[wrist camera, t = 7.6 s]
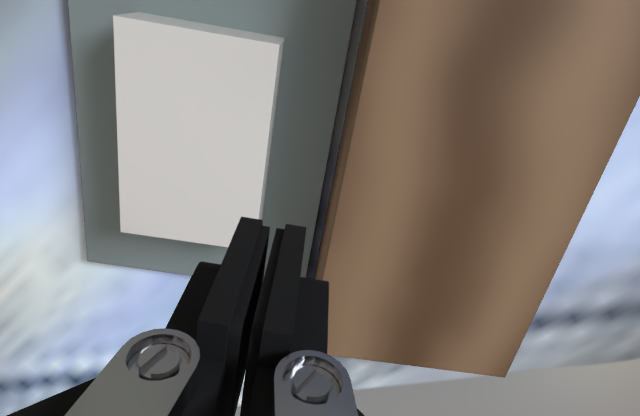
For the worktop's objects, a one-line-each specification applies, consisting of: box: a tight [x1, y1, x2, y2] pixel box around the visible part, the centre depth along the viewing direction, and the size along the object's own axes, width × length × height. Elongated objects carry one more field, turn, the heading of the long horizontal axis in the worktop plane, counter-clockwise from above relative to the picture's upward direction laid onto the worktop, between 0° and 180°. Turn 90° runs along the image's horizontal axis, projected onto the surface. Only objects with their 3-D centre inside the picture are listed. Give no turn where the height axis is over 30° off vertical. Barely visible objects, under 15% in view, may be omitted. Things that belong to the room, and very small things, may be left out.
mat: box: [68, 0, 357, 280], centre depth 21 cm, size 12×16×1 cm
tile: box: [113, 12, 284, 247], centre depth 19 cm, size 6×9×2 cm, turn 171°
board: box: [314, 0, 640, 377], centre depth 20 cm, size 10×18×4 cm, turn 171°
